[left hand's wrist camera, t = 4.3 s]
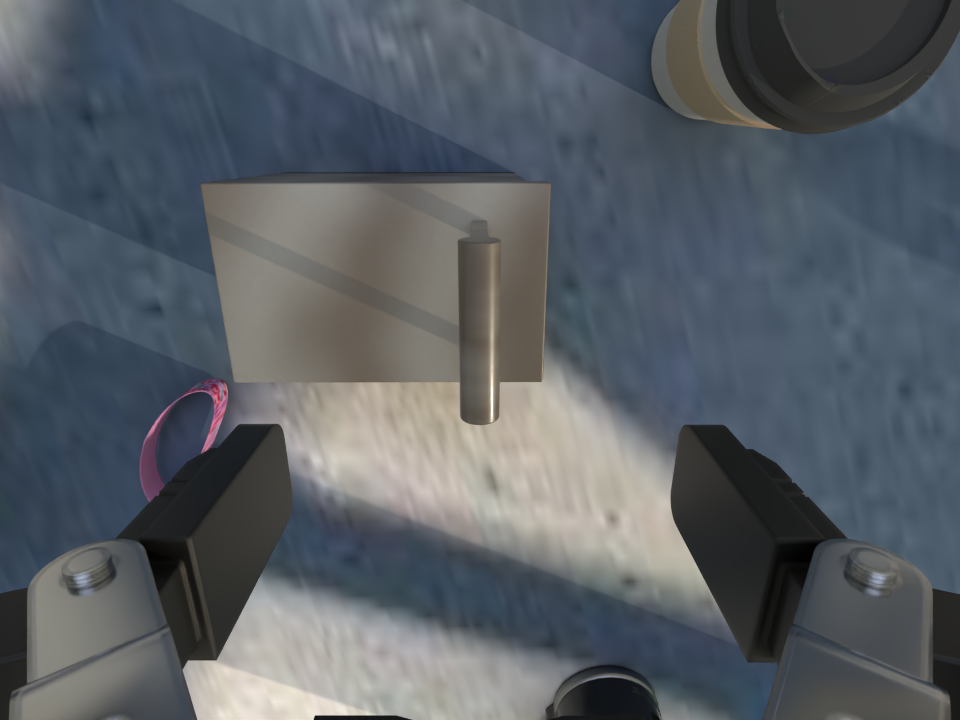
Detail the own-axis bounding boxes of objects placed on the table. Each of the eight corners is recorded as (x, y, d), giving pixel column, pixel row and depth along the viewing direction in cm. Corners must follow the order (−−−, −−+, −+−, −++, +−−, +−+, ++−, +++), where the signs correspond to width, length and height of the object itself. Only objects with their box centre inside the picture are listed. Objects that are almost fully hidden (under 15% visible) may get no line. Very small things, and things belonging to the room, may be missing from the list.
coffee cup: (727, -76, 30) (939, -269, 16) (817, 57, 33) (1071, -12, 19) (600, 55, 33) (691, -17, 19) (693, 171, 35) (836, 185, 21)
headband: (184, 362, 40) (168, 374, 37) (237, 386, 40) (225, 399, 38) (139, 478, 43) (122, 495, 41) (189, 498, 44) (175, 516, 42)
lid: (548, 181, 25) (580, 195, 17) (540, 374, 28) (564, 460, 20) (210, 181, 25) (86, 196, 17) (241, 375, 28) (150, 461, 20)
